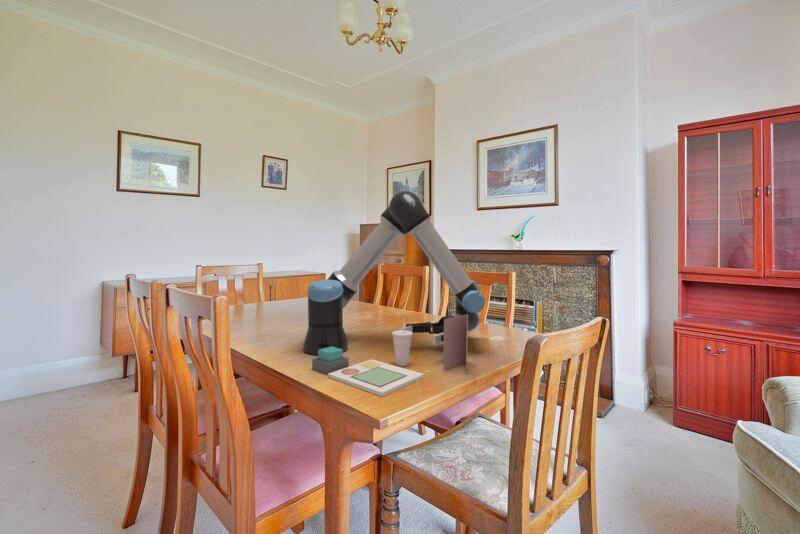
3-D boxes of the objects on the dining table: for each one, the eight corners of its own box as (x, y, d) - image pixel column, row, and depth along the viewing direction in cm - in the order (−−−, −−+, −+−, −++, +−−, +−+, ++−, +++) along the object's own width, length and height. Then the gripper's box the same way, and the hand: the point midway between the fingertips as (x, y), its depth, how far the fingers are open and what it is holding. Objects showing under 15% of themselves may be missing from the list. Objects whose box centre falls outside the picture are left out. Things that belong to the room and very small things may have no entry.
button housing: (312, 369, 109) (312, 358, 108) (332, 362, 114) (332, 353, 114) (328, 374, 104) (328, 364, 104) (348, 368, 109) (348, 358, 109)
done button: (318, 360, 109) (318, 350, 108) (331, 356, 112) (331, 346, 112) (329, 363, 105) (329, 353, 105) (342, 359, 109) (342, 349, 109)
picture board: (328, 377, 102) (328, 373, 102) (371, 362, 115) (371, 358, 115) (382, 396, 89) (382, 392, 89) (424, 377, 102) (424, 373, 102)
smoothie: (410, 368, 110) (410, 321, 109) (389, 366, 111) (389, 320, 110) (414, 361, 116) (414, 317, 115) (393, 360, 117) (394, 316, 117)
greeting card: (464, 361, 117) (465, 313, 116) (484, 367, 112) (486, 317, 111) (440, 369, 109) (441, 318, 108) (461, 376, 104) (462, 322, 103)
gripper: (483, 341, 126) (449, 356, 110) (423, 330, 142) (386, 341, 126) (483, 320, 126) (450, 331, 110) (423, 311, 142) (386, 319, 125)
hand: (416, 336), depth 118 cm, fingers open, 13 cm apart
